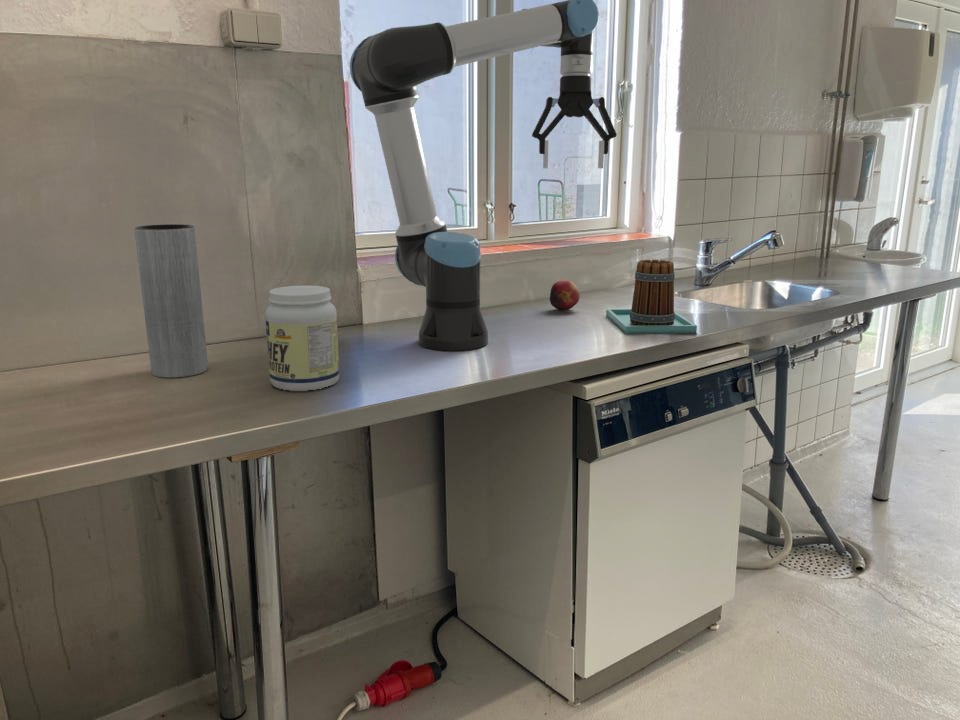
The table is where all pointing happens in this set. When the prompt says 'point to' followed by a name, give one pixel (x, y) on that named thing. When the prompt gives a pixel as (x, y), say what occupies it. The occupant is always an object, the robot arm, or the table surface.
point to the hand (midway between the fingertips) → (573, 168)
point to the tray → (623, 322)
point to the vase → (172, 299)
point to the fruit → (564, 295)
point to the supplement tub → (302, 338)
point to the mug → (653, 293)
